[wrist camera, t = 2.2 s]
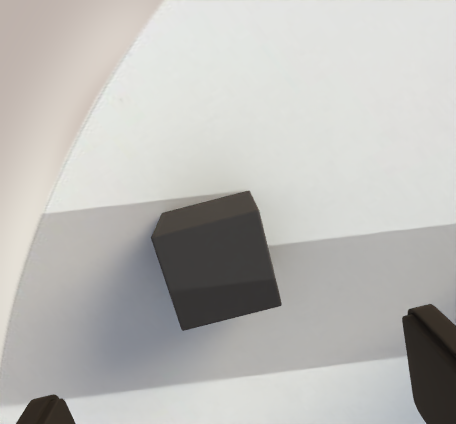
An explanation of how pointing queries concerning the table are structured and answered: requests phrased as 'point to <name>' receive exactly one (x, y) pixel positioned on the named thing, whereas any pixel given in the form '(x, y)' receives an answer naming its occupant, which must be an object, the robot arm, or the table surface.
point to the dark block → (216, 260)
